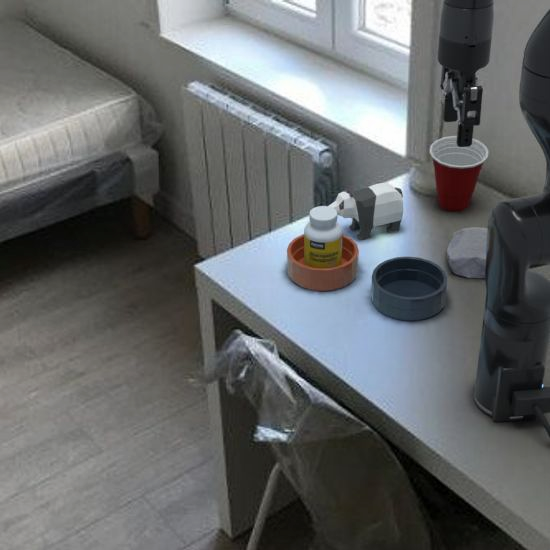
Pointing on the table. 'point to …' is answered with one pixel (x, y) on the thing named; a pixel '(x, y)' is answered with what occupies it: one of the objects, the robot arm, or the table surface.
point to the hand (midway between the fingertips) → (456, 133)
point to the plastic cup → (456, 171)
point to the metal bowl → (409, 288)
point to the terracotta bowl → (322, 276)
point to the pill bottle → (323, 239)
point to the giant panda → (371, 208)
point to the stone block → (468, 252)
